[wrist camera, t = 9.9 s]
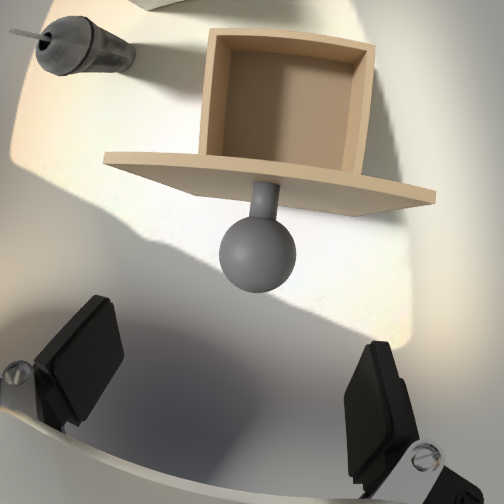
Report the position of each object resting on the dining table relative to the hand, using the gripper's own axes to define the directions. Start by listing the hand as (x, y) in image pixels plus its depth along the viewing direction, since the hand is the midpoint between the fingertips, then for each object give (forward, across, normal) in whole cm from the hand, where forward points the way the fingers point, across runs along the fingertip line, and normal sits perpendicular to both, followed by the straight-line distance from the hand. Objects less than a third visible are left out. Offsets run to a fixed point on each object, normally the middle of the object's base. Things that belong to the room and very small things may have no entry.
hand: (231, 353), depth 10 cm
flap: (+13, 0, -3) cm, 14 cm away
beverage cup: (+30, +23, -16) cm, 41 cm away
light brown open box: (+29, 0, -8) cm, 31 cm away
